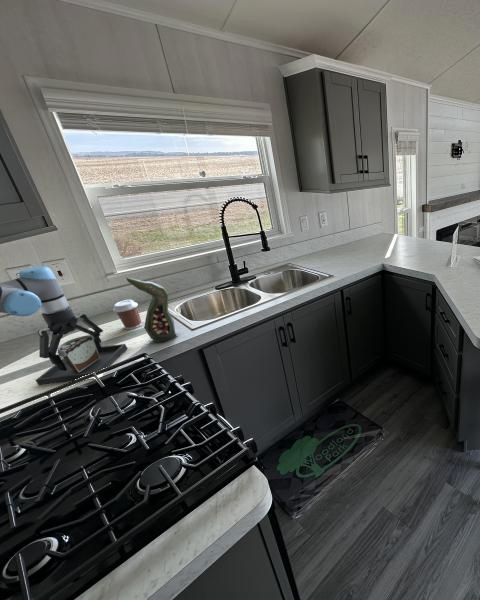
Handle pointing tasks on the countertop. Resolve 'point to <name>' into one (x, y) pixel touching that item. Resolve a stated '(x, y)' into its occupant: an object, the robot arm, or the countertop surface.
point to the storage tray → (69, 375)
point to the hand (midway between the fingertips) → (82, 360)
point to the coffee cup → (128, 313)
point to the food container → (79, 352)
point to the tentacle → (156, 311)
